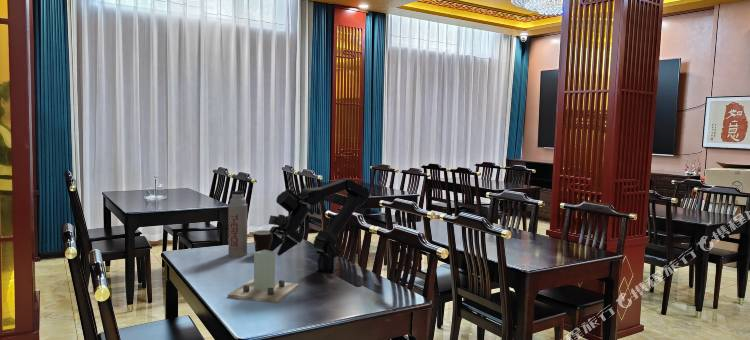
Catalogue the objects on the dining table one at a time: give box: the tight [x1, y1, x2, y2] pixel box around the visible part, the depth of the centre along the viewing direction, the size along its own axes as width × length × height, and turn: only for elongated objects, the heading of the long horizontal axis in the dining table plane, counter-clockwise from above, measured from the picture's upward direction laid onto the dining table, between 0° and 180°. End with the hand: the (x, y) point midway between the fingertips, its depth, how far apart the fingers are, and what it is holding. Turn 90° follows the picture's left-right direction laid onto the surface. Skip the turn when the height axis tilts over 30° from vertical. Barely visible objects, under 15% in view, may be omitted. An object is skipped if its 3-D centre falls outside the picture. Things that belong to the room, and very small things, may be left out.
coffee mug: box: [252, 229, 272, 252], centre depth 234 cm, size 12×9×10 cm
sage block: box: [253, 250, 276, 292], centre depth 183 cm, size 5×5×13 cm
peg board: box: [227, 278, 299, 304], centre depth 183 cm, size 18×18×3 cm
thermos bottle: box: [227, 190, 248, 258], centre depth 231 cm, size 8×8×28 cm
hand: (273, 253), depth 194 cm, fingers open, 9 cm apart
